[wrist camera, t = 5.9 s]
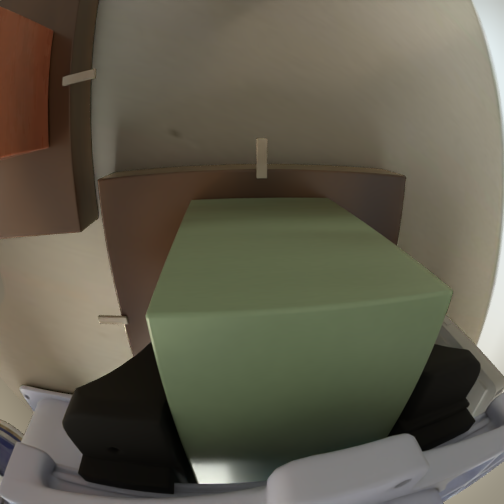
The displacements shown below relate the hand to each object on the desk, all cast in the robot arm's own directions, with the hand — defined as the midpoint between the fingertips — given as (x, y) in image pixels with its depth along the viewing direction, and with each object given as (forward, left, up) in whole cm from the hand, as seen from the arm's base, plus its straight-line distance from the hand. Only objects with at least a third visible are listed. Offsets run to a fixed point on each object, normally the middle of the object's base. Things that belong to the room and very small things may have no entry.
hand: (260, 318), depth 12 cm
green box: (0, 0, 0) cm, 0 cm away
